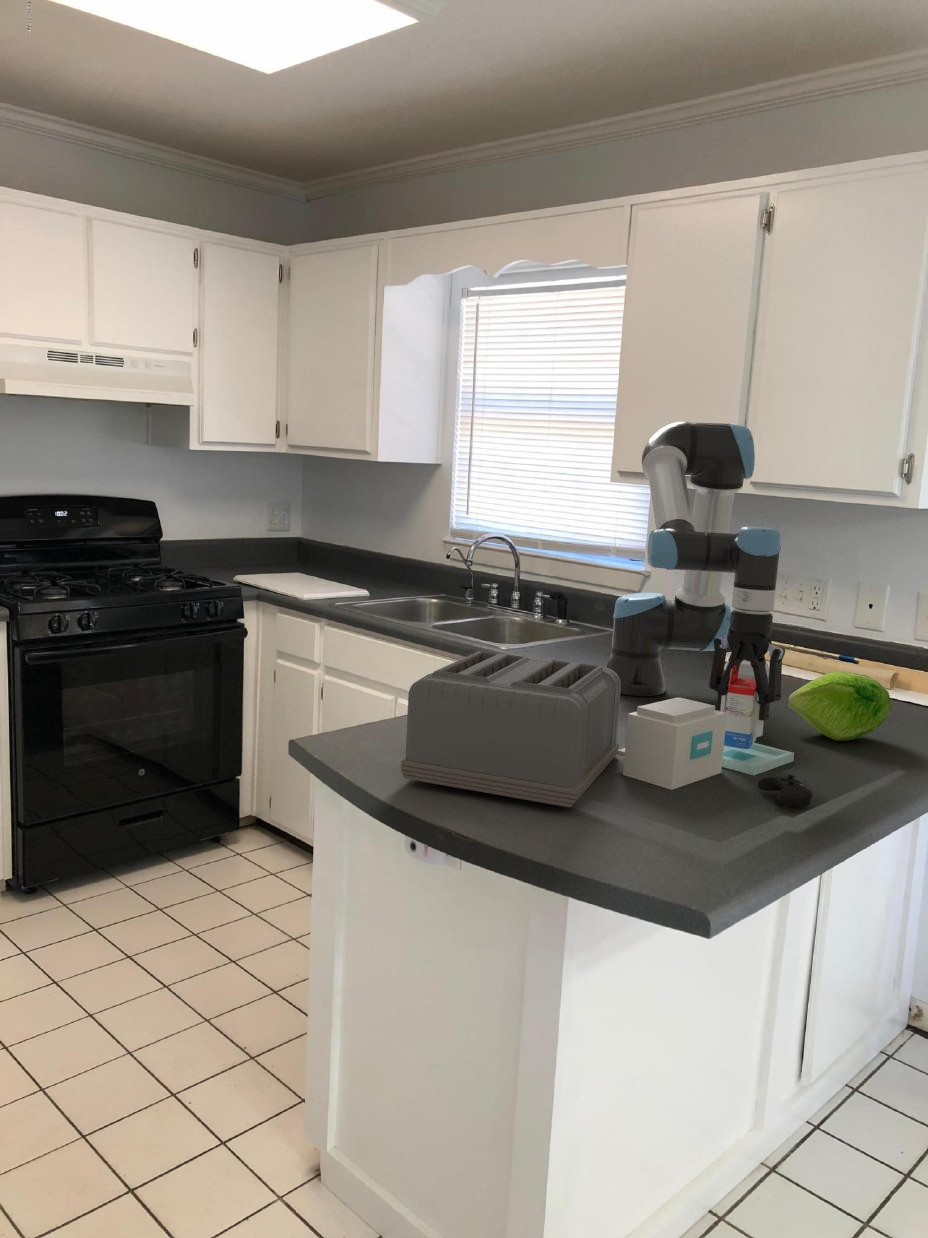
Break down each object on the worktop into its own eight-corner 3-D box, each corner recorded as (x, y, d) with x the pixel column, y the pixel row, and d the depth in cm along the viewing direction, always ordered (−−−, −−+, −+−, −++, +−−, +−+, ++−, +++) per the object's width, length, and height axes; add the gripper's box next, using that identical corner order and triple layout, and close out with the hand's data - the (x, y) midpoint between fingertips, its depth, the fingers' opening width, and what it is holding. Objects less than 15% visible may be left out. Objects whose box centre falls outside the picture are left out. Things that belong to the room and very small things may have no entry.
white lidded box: (609, 770, 180) (614, 703, 178) (660, 755, 191) (665, 692, 189) (674, 790, 170) (680, 720, 169) (723, 773, 182) (730, 707, 180)
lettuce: (788, 722, 223) (795, 661, 221) (887, 735, 216) (895, 672, 213) (783, 737, 209) (789, 672, 207) (888, 752, 202) (896, 685, 200)
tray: (681, 755, 192) (682, 747, 192) (723, 742, 203) (723, 735, 202) (753, 775, 182) (754, 766, 181) (793, 761, 192) (794, 753, 192)
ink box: (748, 750, 187) (756, 672, 185) (721, 746, 189) (729, 668, 187) (756, 740, 194) (764, 665, 192) (730, 736, 197) (737, 661, 194)
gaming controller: (753, 782, 172) (781, 760, 172) (771, 805, 173) (799, 783, 173) (774, 802, 162) (804, 779, 162) (793, 826, 163) (823, 803, 163)
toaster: (623, 752, 193) (630, 659, 190) (574, 809, 160) (583, 697, 157) (474, 729, 203) (479, 641, 200) (399, 778, 170) (404, 673, 167)
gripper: (696, 605, 192) (685, 724, 195) (790, 619, 178) (777, 747, 182) (717, 602, 197) (706, 718, 200) (810, 616, 184) (797, 740, 187)
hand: (740, 732), depth 191 cm, fingers closed on ink box, 6 cm apart
